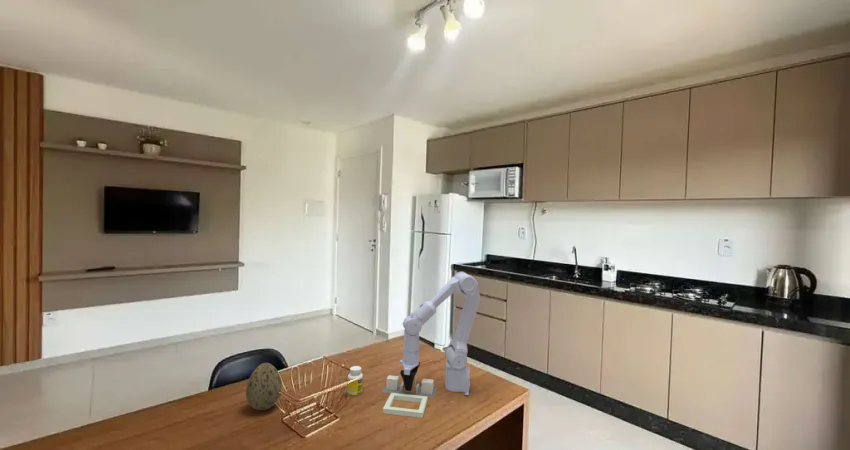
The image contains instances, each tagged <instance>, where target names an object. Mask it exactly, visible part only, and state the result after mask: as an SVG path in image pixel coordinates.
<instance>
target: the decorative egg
mask: <svg viewBox="0 0 850 450" xmlns="http://www.w3.org/2000/svg"><path fill="white" fill-rule="evenodd" d="M282 387H283V385H282V378H281V375H280V373H279V371H278V369H277V368H276V367H275V366H274V365H273V364H271V363H269V362H263V363H261V364H259V365H258V366H256V368H255V369H254V370H253V372H252V373H251V375H250V377H249V378H248V382H247V384H246V387H245V397H246V400H247V402H248V405H249V406H250V407H252V408H253V409H254V410H256V411H266V410H269V409H270V408H272V407H273V406H274V405H276V404H277V402H278V400H279V399H280V396H281V394H280V393H279V392H281V393H282Z"/></svg>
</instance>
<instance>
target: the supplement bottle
mask: <svg viewBox="0 0 850 450" xmlns="http://www.w3.org/2000/svg"><path fill="white" fill-rule="evenodd" d="M363 375H364V374H363V373H362V367H361V366H359V365H353V366H351V367H350V368H349V374H348V375H347V382H348V381H350V380H353V379H355V378H358V377H359V378H360V379H358V380H355V381H353V382H351V383H349V384H346V385H347V387H346V388H347V389H346V395H347V397H358V396H360V395H362V394H363V383H364V376H363Z"/></svg>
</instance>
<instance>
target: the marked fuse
mask: <svg viewBox="0 0 850 450" xmlns="http://www.w3.org/2000/svg"><path fill="white" fill-rule="evenodd" d="M416 385H417V374H416V375H415V377H414V380H413V385H412V389H411V391H405V387H404V391H405V392H415V390H416Z"/></svg>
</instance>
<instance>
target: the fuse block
mask: <svg viewBox="0 0 850 450" xmlns="http://www.w3.org/2000/svg"><path fill="white" fill-rule="evenodd" d="M434 381H435V379H432V378H431V379H430V378H429V379H427V378H422V380H421V385H420V383H419V382H418V383H417V382H416V390H415V392H405V391H404V382H403V381H402V382H401V383H400V376H399V375H398V376H397V375H390V374H389V375H388V376H387V377H386V383H385V384H386V385H385V387H384V388H383V389H382V392H381V393H384V394H391V393H399V394H408V395H418V396H427V397H428V398H430V399H435V397H436V392H437V389H438V388H437V387H434Z"/></svg>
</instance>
